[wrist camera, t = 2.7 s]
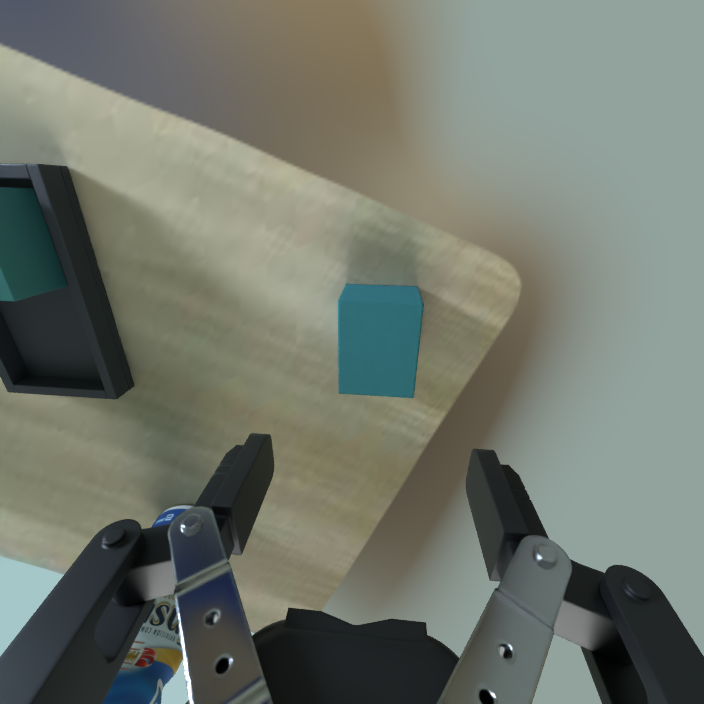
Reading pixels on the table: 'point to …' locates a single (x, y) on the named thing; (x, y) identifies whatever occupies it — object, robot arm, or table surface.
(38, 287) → the seated pad
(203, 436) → the table surface
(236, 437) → the table surface
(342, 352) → the loose pad
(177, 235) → the table surface
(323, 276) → the table surface
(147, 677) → the beverage bottle
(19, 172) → the pad tray
